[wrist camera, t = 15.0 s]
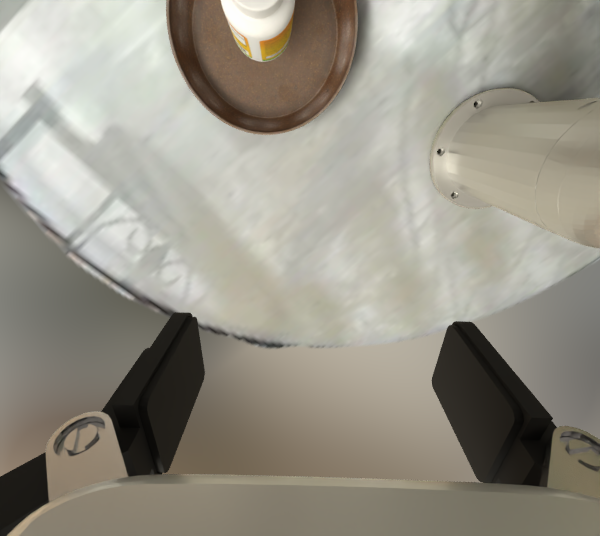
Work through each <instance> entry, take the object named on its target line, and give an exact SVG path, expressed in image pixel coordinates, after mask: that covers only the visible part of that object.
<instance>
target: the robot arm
mask: <svg viewBox="0 0 600 536" xmlns="http://www.w3.org/2000/svg"><path fill="white" fill-rule="evenodd" d="M475 102H476V105H475V107H474V103H475ZM438 149H440V152H439V153H437V151H438ZM430 173H431V177H432V180H433V183H434V185H435V187H436V188H437V190H438V192H439V193H440V194H441V195H442V196H443V197H444V198H446V199H447V200H449V201H450V202H452V203H454V204H456V205H458V206H461V207H465V208H474V209H480V208H487V207H491V206H495V207H497V208H499V209H501V210H503V211H506V212H508V213H510V214H512V215H514V216H517V217H519V218H521V219H523V220H525V221H528V222H530V223H532V224H534V225H536V226H539V227H541V228H543V229H545V230H548V231H550V232H552V233H555V234H557V235H559V236H561V237H564V238H566V239H568V240H570V241H573V242H576V243H579V244H581V245H585V246H589V247H594V248H600V98H588V99H575V100H562V101H549V102H539V100H538V99H536V98H535V97H534V96H532V95H531V94H530V93H527V92H525V91H523V90H520V89H514V88H500V89H493V90H488V91H485V92H482V93H479V94H477V95H474V96H473V97H471V98H469V99H468V100H466V101H464V102H463V103H462V104H461V105H459V106H458V107H457V108H456V109H455V110H454V111H453V112H452V113H451V114H450V115H449V116H448V117H447V119H446V120H445V121H444V123H443V124H442V126H441V127H440V129H439V130H438V132H437V135H436V137H435V139H434V142H433V145H432V149H431V153H430ZM452 193H453V195H452V196H451V194H452ZM204 375H205V371H204V364H203V357H202V350H201V343H200V337H199V330H198V323H197V318H196V317H192V314H191V313H176V312H175V313H173V315H172V316H171V317H170V319H169V321H168V322H167V323H166V325H165V326H164V328H163V329H162V331H161V332H160V334H159V335H158V337H157V338H156V340H155V341H154V343H153V344H152V346H151V347H150V348H147V349H145V350H144V351H143V353H142V354H141V355H140V357H139V358H138V360H137V361H136V362H135V364H134V365H133V367H132V368H131V370H130V371H129V373H128V374H127V375H126V377H125V378H124V380H123V381H122V383H121V384H120V385H119V387H118V388H117V390H116V391H115V393H114V394H113V395H112V397H111V398H110V400H109V402H108V403H107V404H106V406H105V407H104V408H103V410H102V411H101V412H97V411H94V412H88V413H84V414H81V415H79V416H76V417H74V418H73V419H71V420H69V421H67V422H66V423H65V424H63V425H62V426H61V427H59V428H58V429H57V430H56V432H55V433H54V434H53V435H52V436H51V438H50V440H49V441H48V443H47V446H46V452H45V453H43V454H41V455H40V456H38V457H36V458H34V459H32V460H30V461H28V462H27V463H25V464H23V465H21V466H19V467H17V468H16V469H14V470H12V471H10V472H8V473H6V474H4V475H3V476H1V477H0V536H600V439H598V438H596V437H595V436H593V435H591V434H590V433H588V432H586V431H583V430H581V429H578V428H574V427H569V426H560V427H558V428H557V427H556V426H555V425H554V423H553V422H552V421H551V420H552V419H553V418H552V417H551V416H550V414H549V413H548V412H547V411H546V410H545V408H544V407H543V406H542V405H541V403H540V402H539V401H538V400H537V399H536V398H535V396H534V395H533V394H532V393H531V391H530V390H529V389H528V388H527V387H526V386H525V385H524V383H523V382H522V381H521V380H520V378H519V377H518V376H517V375H516V374H515V372H514V371H513V370H512V369H511V368H510V367H509V365H508V364H507V363H506V362H505V360H504V359H503V358H502V357H501V356H500V354H499V353H498V352H497V351H496V350H495V348H494V347H493V346H492V345H491V344H490V342H489V341H488V340H487V339H486V338H485V336H484V335H483V334H482V333H481V332H480V330H479V329H478V328H477V327H476V326H475V324H473V323H472V322H457V321H456V322H454V323H453V324H452V325H450V326H448V328H447V331H446V334H445V338H444V341H443V344H442V347H441V351H440V354H439V357H438V361H437V364H436V367H435V370H434V374H433V377H432V386H433V389H434V391H435V393H436V395H437V397H438V399H439V401H440V403H441V405H442V407H443V409H444V411H445V413H446V415H447V418H448V420H449V422H450V424H451V426H452V428H453V430H454V432H455V434H456V436H457V438H458V440H459V442H460V445H461V447H462V449H463V451H464V453H465V455H466V457H467V459H468V461H469V463H470V465H471V467H472V469H473V471H474V474H475V476H476V477H477V479H478V480H479V481H480V482H483V483H476V482H450V481H449V482H447V481H422V480H420V481H419V480H393V479H362V478H361V479H360V478H330V477H295V476H293V477H292V476H255V475H253V476H252V475H202V474H199V475H196V474H194V475H193V474H188V475H187V474H186V475H185V474H163V475H162V473H166V472H167V471H168V470H169V468H170V466H171V463H172V461H173V458H174V455H175V453H176V450H177V448H178V445H179V442H180V440H181V437H182V434H183V432H184V429H185V427H186V424H187V422H188V419H189V417H190V414H191V411H192V409H193V406H194V403H195V401H196V399H197V396H198V393H199V391H200V388H201V386H202V383H203V380H204Z"/></svg>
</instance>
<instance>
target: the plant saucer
mask: <svg viewBox="0 0 600 536" xmlns="http://www.w3.org/2000/svg"><path fill="white" fill-rule="evenodd" d="M166 17H167V29H168V35H169V40H170V45H171V49H172V52H173V55H174V58H175V61H176V63H177V66H178V68H179V70H180V72H181V74H182V76H183V78H184V80H185V82H186V84H187V85H188V87H189V88H190V90H191V91H192V93H193V94H194V95H195V97H196V98H197V99H198V100H199V102H200V103H201V104H202V105H203V106H204V107H205V108H206V109H207V110H208V111H209V112H210V113H212V114H213V115H214V116H215V117H217V118H218V119H219V120H221V121H222V122H224V123H226V124H228V125H230V126H232V127H234V128H236V129H239V130H241V131H245V132H249V133H253V134H261V135H272V134H280V133H285V132H289V131H292V130H295V129H297V128H300V127H302V126H304V125H305V124H307V123H309V122H310V121H312V120H313V119H315V118H316V117H317V116H318V115H320V114H321V113H322V112H323V111H324V110H325V109H326V108H327V107H328V106H329V105H330V103H331V102H332V101H333V100H334V98H335V97H336V96H337V94H338V92H339V91H340V89H341V88H342V86H343V84H344V82H345V79H346V77H347V75H348V73H349V70H350V67H351V64H352V61H353V57H354V53H355V48H356V41H357V31H358V11H357V0H295V7H294V15H293V22H292V30H291V36H290V40H289V43H288V45H287V47H286V49H285V50H284V52H283V53H282V54H281V55H280V56H279V57H277V58H275V59H273V60H271V61H267V62H260V61H256V60H253V59H251V58H249V57H248V56H247V55H245V54H244V53H243V52H242V51H241V49H240V48H239V47H238V45H237V43H236V41H235V39H234V37H233V34H232V31H231V29H230V26H229V24H228V21H227V18H226V16H225V13H224V11H223V8H222V4H221V0H166Z"/></svg>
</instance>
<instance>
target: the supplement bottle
mask: <svg viewBox="0 0 600 536" xmlns="http://www.w3.org/2000/svg"><path fill="white" fill-rule="evenodd" d="M221 4H222V8H223V11H224V13H225V16H226V18H227V21H228V24H229V26H230V29H231V31H232V34H233V37H234V39H235V41H236V43H237V45H238V47H239V48H240V49H241V51H242V52H243V53H244V54H245V55H247V56H248V57H249V58H251V59H253V60H256V61H260V62H267V61H271V60H273V59H275V58H277V57H279V56H280V55H281V54H282V53H283V52H284V50H285V49H286V47H287V45H288V43H289V40H290V36H291V30H292V22H293V15H294V7H295V0H221Z"/></svg>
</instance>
